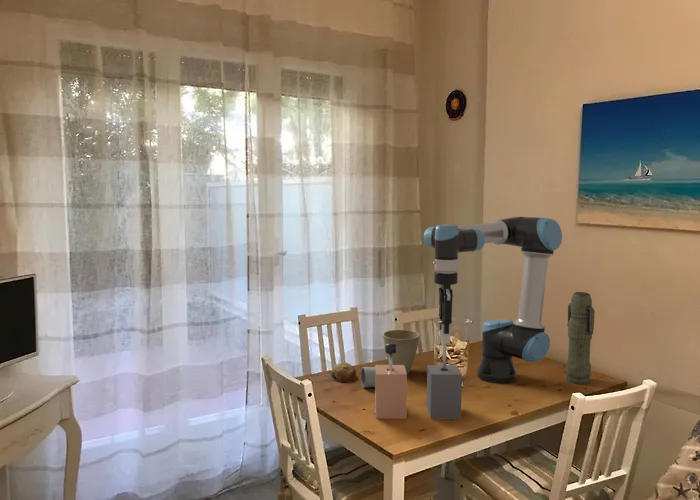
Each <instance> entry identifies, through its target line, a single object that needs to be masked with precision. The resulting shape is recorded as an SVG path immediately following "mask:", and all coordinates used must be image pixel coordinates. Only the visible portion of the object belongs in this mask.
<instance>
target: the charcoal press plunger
mask: <svg viewBox="0 0 700 500" xmlns="http://www.w3.org/2000/svg"><path fill="white" fill-rule="evenodd" d="M442 321H443V320H440V319H439V331H440V330H442V324H440V322H442ZM451 324H452V323H451ZM451 324H450V327H451V326H452V325H451ZM447 345H448V343H442V364H441V365H442V371H446V365H447Z"/></svg>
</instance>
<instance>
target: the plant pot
mask: <svg viewBox="0 0 700 500" xmlns="http://www.w3.org/2000/svg"><path fill="white" fill-rule="evenodd" d="M382 336H383V337H382V339H383V344H384V347H385V344H386V343H390V342H391V343H396V353H393V354H392V365H404V366H405V370H406V373H407V375H408V374H410V372H411V371H412V370H411V369H413V368H412V367H413V364H414V361H415V360H416V359H415V358H416V355H417V351H418V347H419V340H420V333H419V332H417V331H413V330H410V329H409V330H407V329H391V330H390V329H389V330H386V331H384V332H383V333H382ZM385 354H386V358H387V362H388V363H389V353H386V352H385Z"/></svg>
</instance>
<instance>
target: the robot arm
mask: <svg viewBox="0 0 700 500" xmlns="http://www.w3.org/2000/svg"><path fill="white" fill-rule="evenodd" d="M562 241H563V233H562V228H561V226H560V224H559V223H558V222H557V221H556V220H555V219H553V218H549V217H548V218H547V217H532V216H514V217H509V218H502V219H494V220H493V221H491V222H490V223H489V222H488V223H478V224H477V223H475V224H465V225H457V224H438V225H436V226H429V227H428V228H426V230H425V231H424V234H423V243H424V244H425V245H426V246H427V247H428V248H429V247H430V248H432V249H434V261H433V262H432V264H433V265H434V271H435V272H434V274H433V275H434V276H433V277H434V279H433V280H434V281H433V282H434V284H436V285H440V287H438V293H439V294H438V297H439V302H438V304H439V305H438V316H439V325H440V324H442V330H440V329H439V340H440V341H441V344H443V343H447V344H451V326H450V324H452V323H453V319H452V318H453V316H452V315H453V297H454V295H453V289H452V288H451V287H452V285H453V286H454V285H457V283H458V275H459V274H458V270H459V258H458V257H459V253H465V252H466V253H468V252H471V253H473V252H476V251H480V250H482V248H484V246H485V244H492V243H493V244H495V245H507V246H514V247H519V248H521V249H520V251H521V253H522V255H523V256H524V260H523V269H522V279H521V287H520V296H519V305H518V313H517V319H515V320H514V321H513V320H512V319H508V318H507V319H503V318H502V319H501V318H500V319H489V320H486V321H485V322H483V325H482V331H481V332H482V339H481V340H482V352H481V355H482V356H481V359H480V363H479V365H478V367H477V377H478V378H479V379H480V380H483V381H486V382H489V383H490V382H491V383H496V384H498V383H499V384H501V383H502V384H504V383H511V382H514V381H516V380H517V371H516V368H515V364H514V361H513V357H514V358H516V359H521V360H523V361H525V362H531V363H538V362H541V361H542V360H543V359H544V358H545V357H546V355H547V354H548V351H549V349H550V345H551V339H550V337H549V334H548V333H547V332H545V330H546V329H545V325H544V324H543V322H542V318H543V308H544V300H545V291H546V283H547V276H548V275H547V274H548V267H549V260H550V258H551V257H552V256H554V252H555V251H556V250H558V249H559V248H560V246H561V245H562ZM440 320H443V321H442V322H440Z"/></svg>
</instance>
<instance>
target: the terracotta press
mask: <svg viewBox="0 0 700 500" xmlns="http://www.w3.org/2000/svg"><path fill="white" fill-rule="evenodd" d="M374 367H375V387H374V411H375V419H407V400H408V399H407V397H408V396H407V393H408V392H407V389H408V388H407V385H408V384H407V381H408V379H407V378H408V374H407V373H406V370H405V366H404V365H392V371H389V364H374Z"/></svg>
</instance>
